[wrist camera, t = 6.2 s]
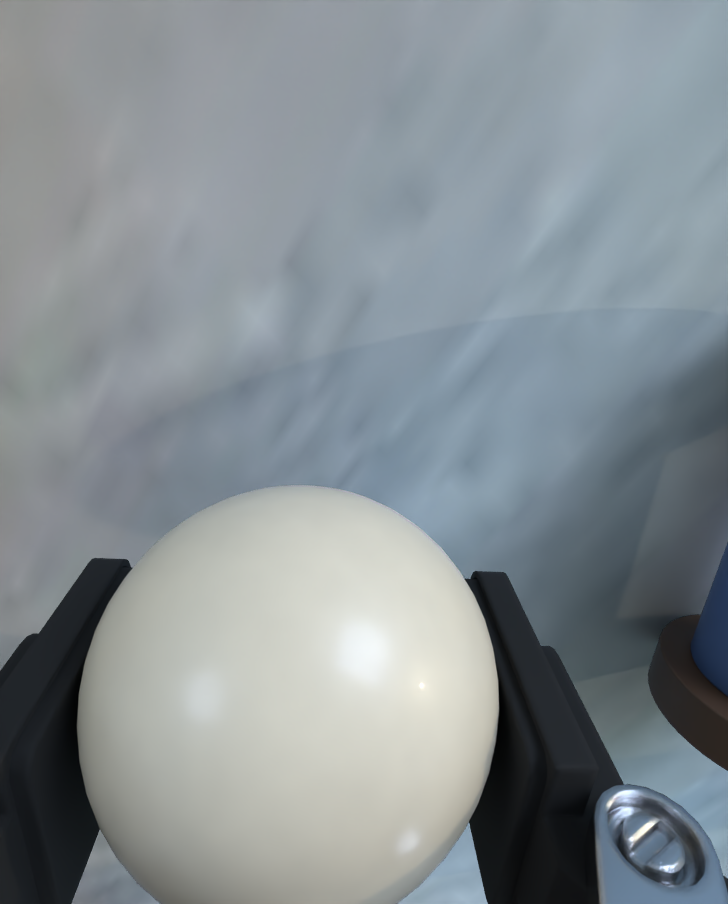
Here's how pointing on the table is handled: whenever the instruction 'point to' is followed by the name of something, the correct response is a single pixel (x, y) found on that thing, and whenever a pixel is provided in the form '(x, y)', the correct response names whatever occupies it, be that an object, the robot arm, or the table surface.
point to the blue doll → (697, 673)
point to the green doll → (288, 705)
